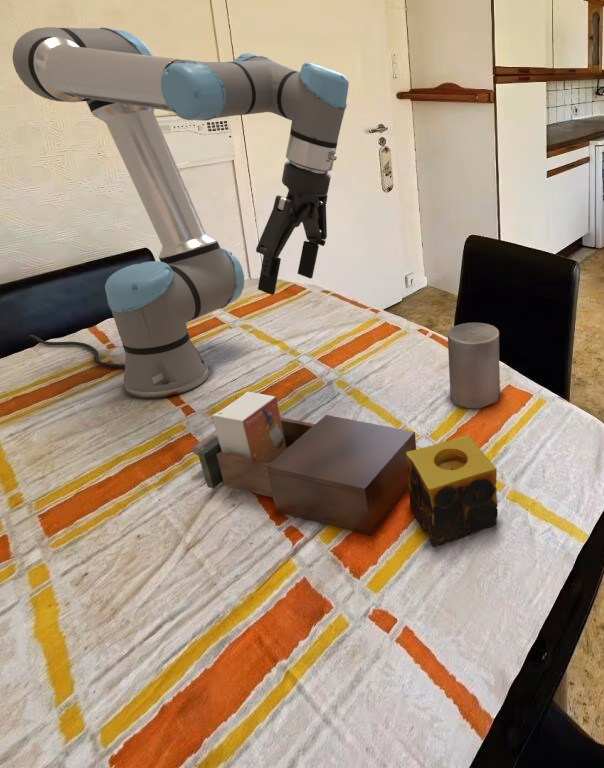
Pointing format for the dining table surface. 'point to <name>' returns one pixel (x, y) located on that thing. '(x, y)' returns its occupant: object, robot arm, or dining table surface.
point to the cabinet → (343, 474)
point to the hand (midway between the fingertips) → (286, 283)
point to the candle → (452, 490)
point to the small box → (251, 427)
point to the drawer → (242, 462)
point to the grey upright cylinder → (474, 364)
